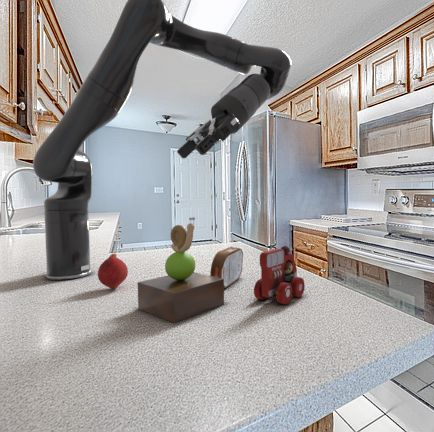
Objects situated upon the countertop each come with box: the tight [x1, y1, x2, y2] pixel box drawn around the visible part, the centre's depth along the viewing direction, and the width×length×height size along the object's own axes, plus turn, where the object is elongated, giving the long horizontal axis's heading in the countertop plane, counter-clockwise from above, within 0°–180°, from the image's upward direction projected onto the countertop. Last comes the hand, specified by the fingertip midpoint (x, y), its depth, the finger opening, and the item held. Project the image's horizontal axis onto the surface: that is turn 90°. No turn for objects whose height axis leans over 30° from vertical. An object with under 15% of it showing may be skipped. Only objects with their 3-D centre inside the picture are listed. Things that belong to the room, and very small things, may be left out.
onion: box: [97, 252, 129, 290], centre depth 69 cm, size 6×6×8 cm
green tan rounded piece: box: [164, 216, 196, 280], centre depth 57 cm, size 5×6×12 cm
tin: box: [209, 246, 244, 289], centre depth 73 cm, size 15×3×8 cm, turn 169°
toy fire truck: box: [253, 245, 306, 305], centre depth 63 cm, size 7×12×10 cm, turn 149°
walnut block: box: [137, 271, 225, 324], centre depth 58 cm, size 11×11×5 cm
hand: (189, 153), depth 64 cm, fingers open, 8 cm apart
